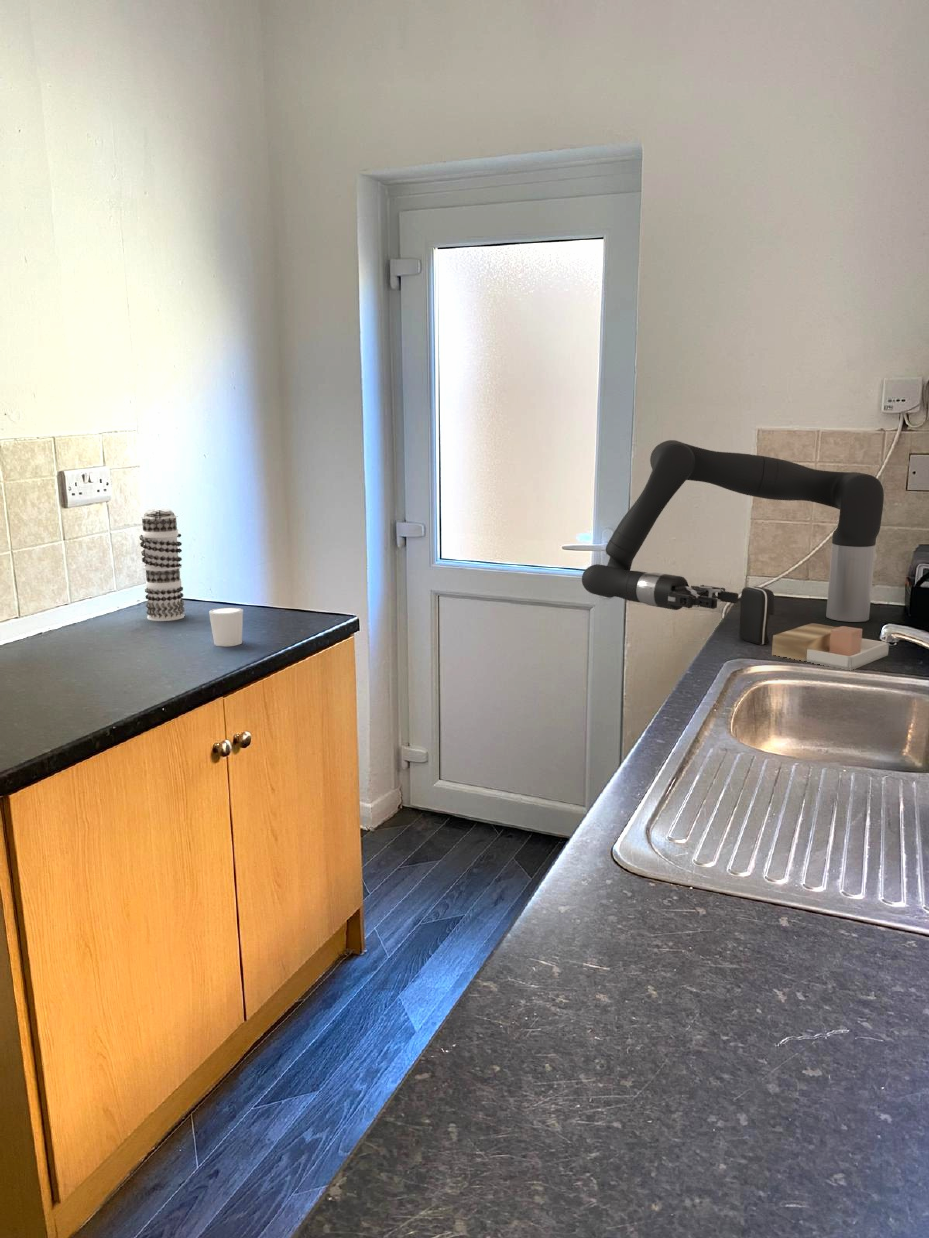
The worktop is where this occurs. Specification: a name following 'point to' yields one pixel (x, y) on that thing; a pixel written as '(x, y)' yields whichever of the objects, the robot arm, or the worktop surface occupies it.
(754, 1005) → the worktop surface
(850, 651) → the peach rounded cube
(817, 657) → the tray
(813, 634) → the wooden block
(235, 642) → the shot glass
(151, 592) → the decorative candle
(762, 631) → the black rounded block
